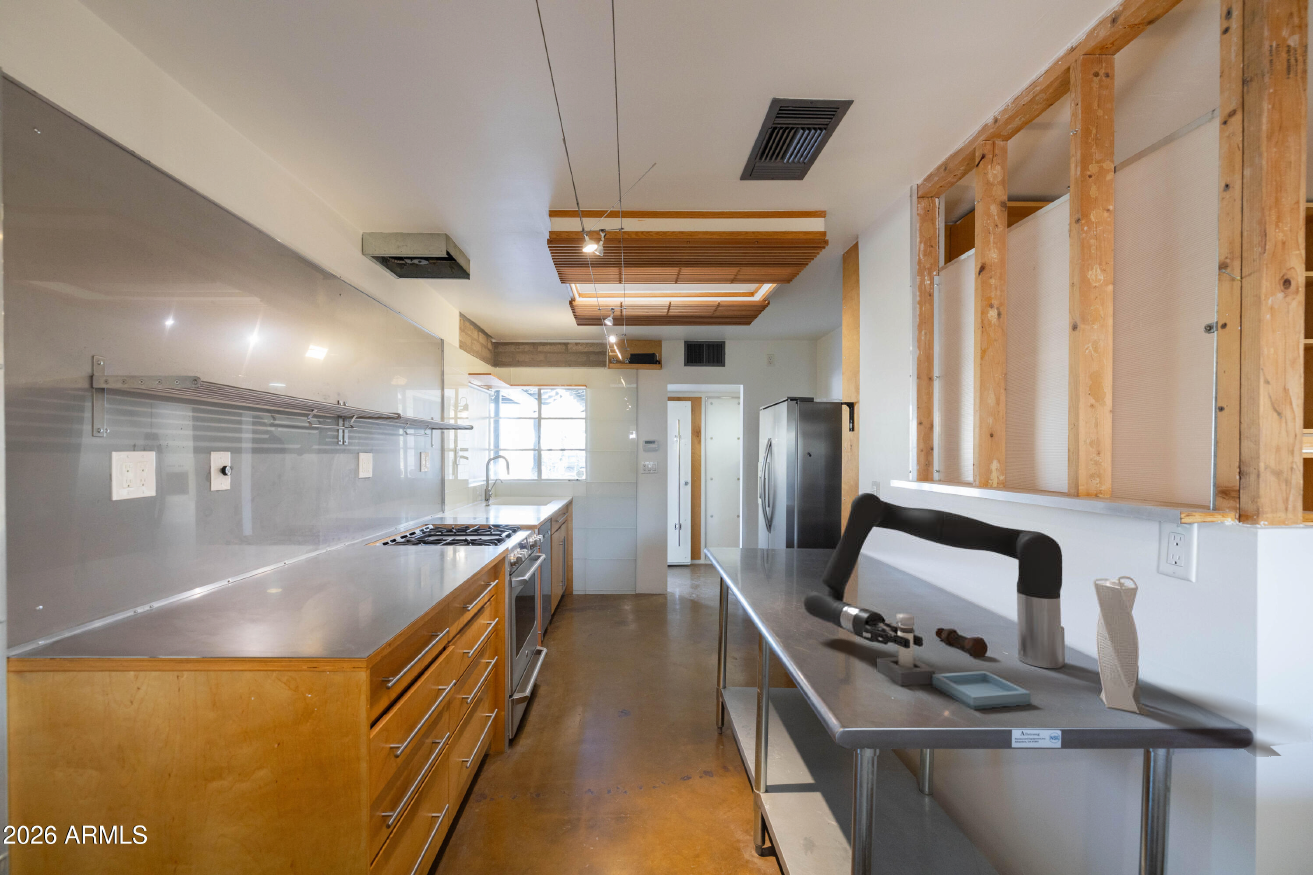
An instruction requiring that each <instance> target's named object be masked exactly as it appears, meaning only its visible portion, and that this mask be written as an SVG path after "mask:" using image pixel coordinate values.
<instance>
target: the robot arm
mask: <svg viewBox="0 0 1313 875" xmlns="http://www.w3.org/2000/svg"><path fill="white" fill-rule="evenodd" d="M847 517H848V518H847V521H846V525H845V527H844V530H843V533H842V535H841V537H840V539H839V542H838V543H837V546H836V547H835V549H834V551H833V553H832V555H831V557H830V559H829V561H828V564H826V568H825V569H824V571H823V574H822V577H821V583H822V584H823V585H824V586H826V587H827V594H825V593H823V592H820V591H811V592H809V593H807V595H806V596H805V597H804V599H803V606H804V609H805V611H806V613H807V614H808V615H810V616H811V617H814V618H817V619H819V620H821V621H823V622H826V623H831V624H832V625H834V626H836V627H838V628H840V629H842V630H844V631H847V632H849V633H850V634H852V635H854V636H856V637H859V638H861V639H863V640H865V641H869V642H871V643H877V644H881V645H888V644H890V645H892V646H895V645H897V646H898V645H899V646H901V647H904V648H906V649H908V648H910V640H909V639H908V638H905V637H903V636H900V635H898V630H897V625H898V624H894V623H893V622H889V621H887V620H886V619H885V618H884V616H883V615H882V614H881V613H879V612H876V611H874V610H871V609H869V608H867V607H866V608H865V607H862V606H861V605H860V606H859V605H855V604H852V603H848V602H846V601H844V599H845V598H844V597H845V594H846V593H845V592H846V587H847V585H848V583H849V581H850V578H851V576H852V574H853V572H854V571H855V568H856V565H857V562H858V560H859V556H860V554H861V551H862V549H863V546H864V543H865V541H866V540H867V537H868V536H869V534H870V533H871V531H872V529H873V528H878V529H880V528H881V529H886V530H893V531H897V532H901V533H904V534H907V535H910V536H912V537H916V538H919V539H921V540H924V541H929V542H932V543H935V544H940V545H942V546H947V547H951V548H958V549H964V550H971V551H973V550H974V551H984V552H989V553H995V554H999V555H1002V556H1006V557H1008V558H1011V559H1015V560H1017V561H1018V564H1017V565H1018V569H1017V570H1018V575H1017V576H1018V577H1017V581H1016V607H1017V608H1016V613H1017V614H1016V616H1017V620H1016V621H1017V658H1018V660H1019V661H1021V662H1023V663H1024V664H1027V665H1030V666H1034V667H1039V668H1045V669H1060V668H1062V666H1066V644H1065V642H1066V641H1065V637H1066V636H1065V628H1064V626H1062V617H1061V616H1062V612H1061V611H1062V610H1061V590H1062V587H1063V553H1062V548H1061V545H1059V543H1058V541H1057V540H1056V539H1054V538H1053V537H1052V536H1049V535H1048V534H1045V533H1043V532H1040V531H1037V530H1036V531H1035V530H1026V529H1020V528H1019V529H1018V528H1010V527H1004V526H999V525H995V524H991V523H989V522H988V523H987V521H986V522H985V521H983V520H980V519H975V518H973V517H969V516H966V515H962V514H957V513H955V512H954V513H953V512H949V511H944V510H939V509H931V508H922V507H908V506H902V505H897V504H895V503H891V502H888V501H885V500H881V498H880V497H879V496H877V495H876V494H874V493H871V492H863V493H861V494H858V495H857V496H856V497H854V498H853V500H852V502H851V503H850V510H849V515H848V516H847ZM915 632H916V631H915V629H914V632H913V646H917V647H919V648H921V647H923V646H924V642H923V641H924V639H923V637H922V636H920V635H917V634H916V633H915Z"/></svg>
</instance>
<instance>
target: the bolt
mask: <svg viewBox="0 0 1313 875" xmlns="http://www.w3.org/2000/svg"><path fill="white" fill-rule="evenodd" d="M934 635H935V636H936V638H938V639H940V640H942V642H943V643H944V644H945V645H947V646H956V647H959V648H962V649H964V650H965V651H966V652H967V653H968V654H969V657H971V658H973V657H974V659H975V658H976V659H979V658H981V657H982V658H984V657H986V655H987V654H988V648H989V647H988V644H987V642H986V640H985V639H984V638H983V637H980V636H974V637H973V636H972V637H971V636H969V637H967V636H965V635H962V634H959V632H958V631H957V630H956V629H955V628H943V627H939V628H936V629H935V633H934Z"/></svg>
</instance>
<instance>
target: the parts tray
mask: <svg viewBox="0 0 1313 875" xmlns="http://www.w3.org/2000/svg"><path fill="white" fill-rule="evenodd" d="M932 686H933V687H934V688H936V689H938V690H940V691H941V692H943V693H944V692H945V693H944V694H946V695H948V696H949V697H951V698H953V699H955V700H957V701H958V702H959V703H962V704H963V705H965V706H967V707H969V708H970V709H972V710H983V708H986V709H992V708H991V707H997V708H1003V707H1002V706H1009V707H1016V705H1020V706H1027V705H1026V704H1031V692H1030V691H1028V690H1026V689H1024V688H1022V687H1019V685H1015V684H1014V683H1012V682H1009V681H1007V680H1006V679H1003V678H1001V677H999V676H997V675H995V674H992V673H990V672H988V671H986V670H978V671H977V670H976V671H966V672H965V671H963V672H952V673H950V672H949V673H937V674H936V673H935V674H934V675H933V684H932Z"/></svg>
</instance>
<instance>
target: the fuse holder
mask: <svg viewBox="0 0 1313 875" xmlns="http://www.w3.org/2000/svg"><path fill="white" fill-rule="evenodd" d="M897 665H898V656H896V657H895V656H894V657H893V656H892V657H880V658H879V657H878V658H876V670H877V672H878V673H879V674H881V675H883V676H884V677H886V678H887V679H889V680H891V681H892V682H893V683H896V684H897V685H898V686H900V687H906V686H921V685H933V675H934V674H936V669H934V668H933V667H931V666H928V665H926V664H924V663H923V662H921V661H920V660H918V659H916V658H914V668H908V669H902V668H900V667H899V666H897Z"/></svg>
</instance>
